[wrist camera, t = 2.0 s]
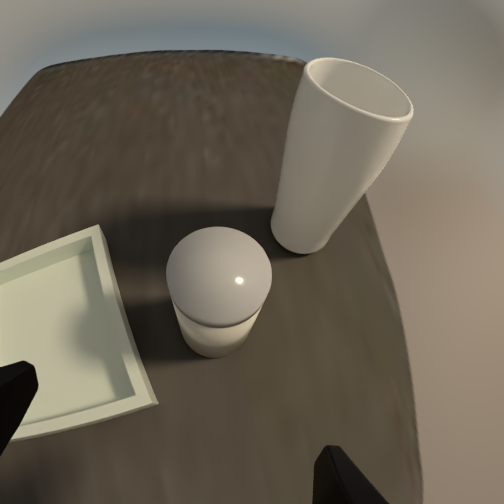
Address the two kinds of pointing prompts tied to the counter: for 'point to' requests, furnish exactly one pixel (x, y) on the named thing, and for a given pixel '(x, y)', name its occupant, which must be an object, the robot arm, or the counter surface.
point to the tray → (70, 335)
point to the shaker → (217, 288)
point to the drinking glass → (334, 148)
